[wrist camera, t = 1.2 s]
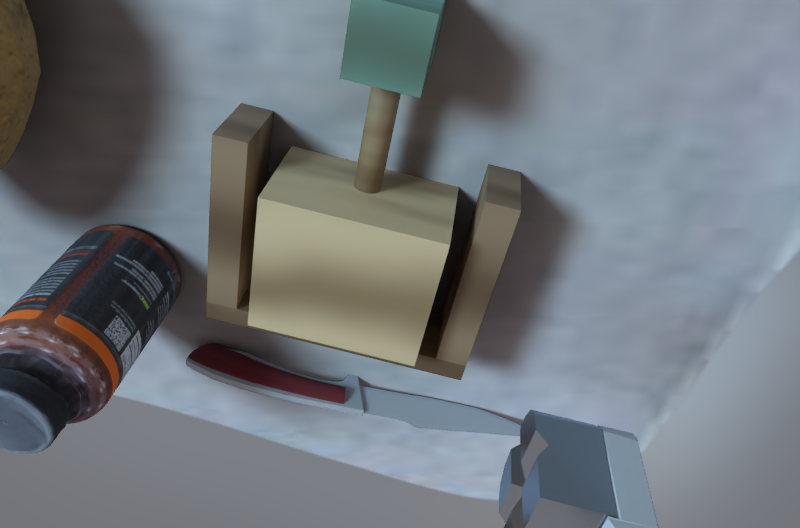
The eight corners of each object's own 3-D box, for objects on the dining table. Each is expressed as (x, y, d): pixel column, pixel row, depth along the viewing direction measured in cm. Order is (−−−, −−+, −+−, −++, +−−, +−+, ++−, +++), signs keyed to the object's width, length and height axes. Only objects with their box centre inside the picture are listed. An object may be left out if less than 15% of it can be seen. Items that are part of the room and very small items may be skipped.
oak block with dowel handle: (313, -49, 26) (275, -22, 22) (512, 0, 26) (511, 36, 22) (278, 264, 35) (247, 325, 31) (426, 301, 35) (414, 366, 31)
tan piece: (241, 103, 30) (212, 134, 27) (520, 172, 30) (521, 210, 27) (230, 276, 36) (206, 317, 33) (464, 334, 36) (460, 380, 33)
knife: (199, 348, 40) (178, 384, 37) (198, 332, 39) (177, 367, 36) (533, 419, 39) (534, 460, 37) (539, 404, 38) (541, 445, 36)
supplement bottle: (63, 266, 37) (-87, 418, 28) (106, 198, 34) (-47, 343, 25) (156, 326, 39) (43, 488, 29) (204, 266, 35) (95, 426, 26)
